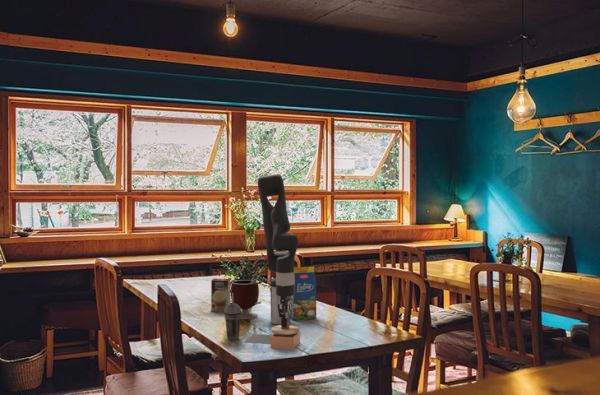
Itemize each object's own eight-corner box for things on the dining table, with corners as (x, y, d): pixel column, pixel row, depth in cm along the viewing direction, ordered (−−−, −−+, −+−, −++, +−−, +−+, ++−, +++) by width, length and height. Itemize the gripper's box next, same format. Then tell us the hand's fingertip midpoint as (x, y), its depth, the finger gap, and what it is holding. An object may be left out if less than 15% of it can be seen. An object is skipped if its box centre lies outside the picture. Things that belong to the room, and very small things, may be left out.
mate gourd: (225, 317, 292) (225, 277, 291) (240, 312, 304) (240, 273, 303) (252, 321, 284) (251, 279, 284) (267, 315, 297) (266, 275, 296)
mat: (254, 335, 257) (254, 333, 257) (285, 337, 254) (285, 335, 254) (243, 343, 244) (243, 342, 244) (275, 345, 240) (275, 344, 240)
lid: (276, 327, 246) (276, 309, 245) (301, 328, 243) (301, 311, 243) (268, 333, 235) (268, 315, 235) (295, 335, 232) (295, 317, 232)
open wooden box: (277, 342, 245) (277, 330, 245) (300, 344, 242) (300, 331, 242) (270, 348, 236) (270, 336, 235) (293, 350, 233) (293, 337, 233)
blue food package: (316, 318, 289) (316, 267, 289) (293, 320, 285) (293, 268, 284) (311, 316, 295) (311, 265, 294) (288, 318, 291) (288, 267, 290)
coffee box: (210, 311, 306) (210, 280, 306) (213, 308, 313) (213, 278, 313) (228, 311, 306) (227, 280, 305) (230, 309, 312) (230, 278, 312)
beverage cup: (242, 337, 253) (242, 291, 252) (241, 342, 245) (240, 294, 245) (225, 338, 252) (224, 291, 252) (223, 342, 245) (223, 294, 245)
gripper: (281, 280, 246) (281, 321, 247) (271, 285, 233) (271, 329, 233) (298, 280, 244) (298, 322, 245) (289, 286, 231) (289, 330, 231)
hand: (285, 325), depth 239 cm, fingers closed on lid, 3 cm apart
